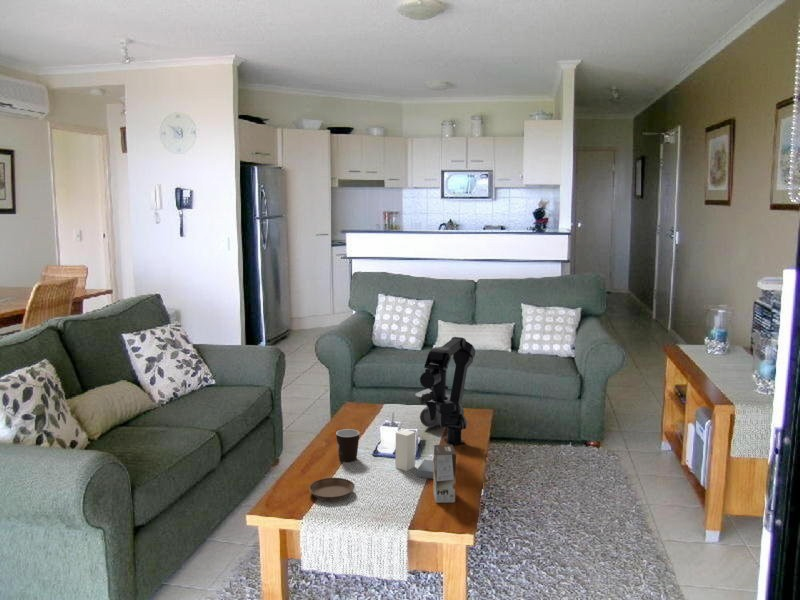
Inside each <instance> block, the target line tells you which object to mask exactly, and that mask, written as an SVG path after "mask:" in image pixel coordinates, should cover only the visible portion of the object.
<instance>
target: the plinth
mask: <svg viewBox="0 0 800 600" xmlns="http://www.w3.org/2000/svg"><path fill="white" fill-rule="evenodd" d="M433 474H434V459H433V460H431V459H424V460H423V461H422V462H421V464H420V465H419V466H418V468H417V469H416V477H417V478H425V479H432V480H433Z"/></svg>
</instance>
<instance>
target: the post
mask: <svg viewBox="0 0 800 600" xmlns="http://www.w3.org/2000/svg"><path fill="white" fill-rule="evenodd" d="M394 463H395V469H399V470H403V471H405V472H408V471H410V470H411V469H413V468H415V467H416V431H412V430H410V429H409V430H408V429H406V428H405V429H401V430H398V431H397V432H395V462H394Z"/></svg>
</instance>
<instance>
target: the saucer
mask: <svg viewBox="0 0 800 600" xmlns="http://www.w3.org/2000/svg"><path fill="white" fill-rule="evenodd" d="M355 487H356V486H355V483H354V482H353V481H351V480H350V479H347V478H342V477H326V478H321V479H318V480H316V481H314V482H312V483H311V484H310V485H309V492H310V493H311V494H312V496H314V497H315V498H316V499H318V500H321V501H325V502H335V501H340V500H341V501H342V500H344V499H346V498H347V497H349V496H350V495H351V493H353V491H354V489H355Z"/></svg>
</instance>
